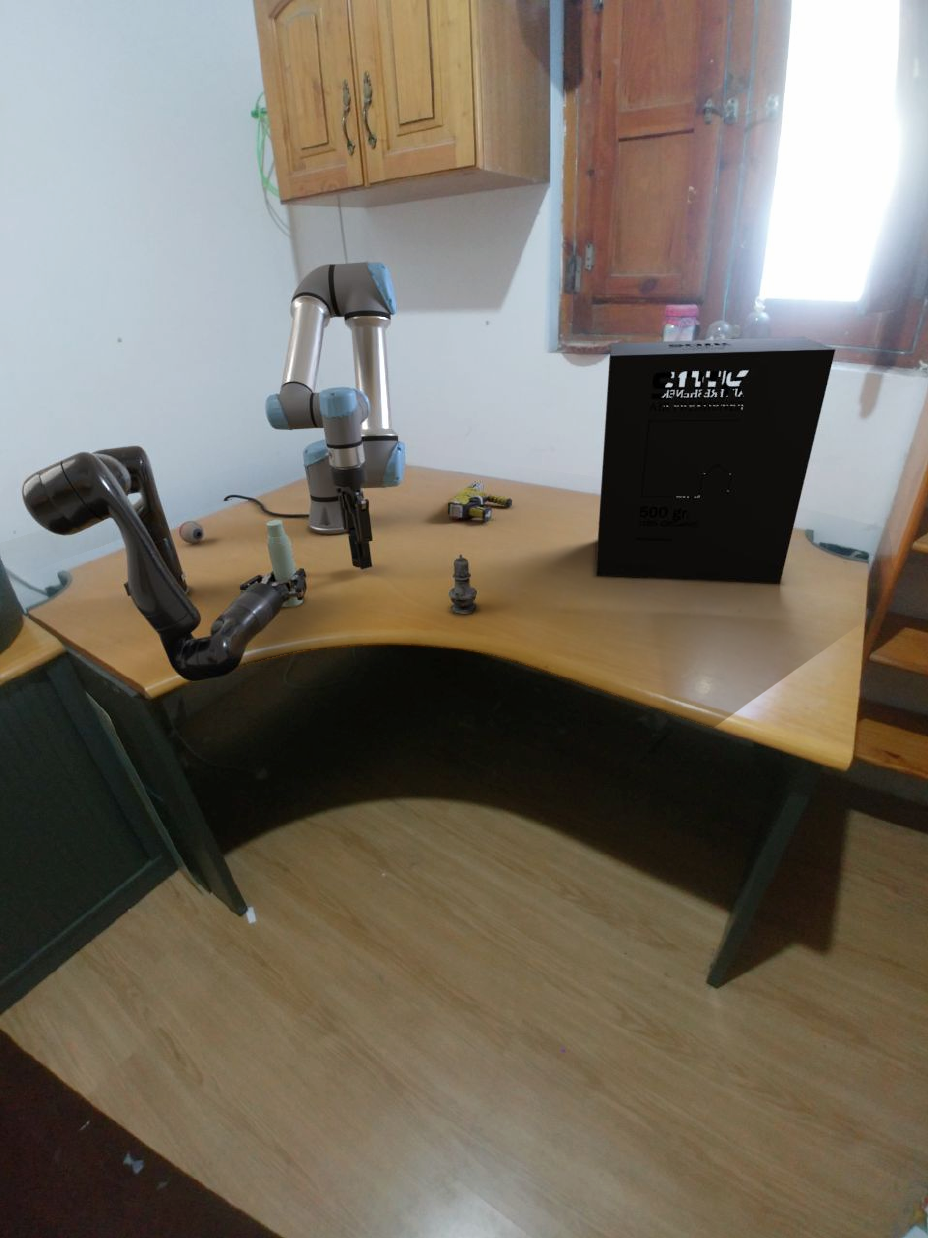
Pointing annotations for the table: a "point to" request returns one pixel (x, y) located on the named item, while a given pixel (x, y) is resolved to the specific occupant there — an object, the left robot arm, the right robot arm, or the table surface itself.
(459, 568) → the salt shaker
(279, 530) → the bottle
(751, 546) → the cardboard box
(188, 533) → the eyeball
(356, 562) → the cap
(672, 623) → the table surface
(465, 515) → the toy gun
